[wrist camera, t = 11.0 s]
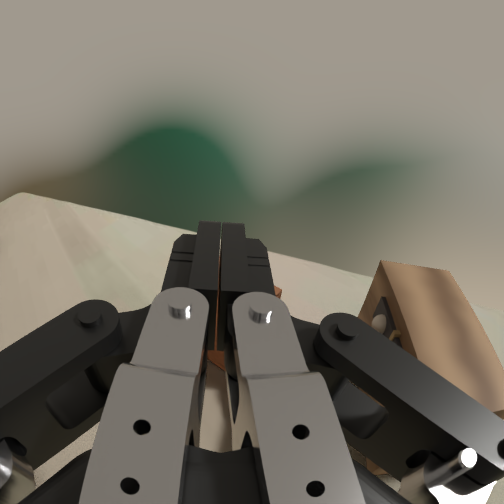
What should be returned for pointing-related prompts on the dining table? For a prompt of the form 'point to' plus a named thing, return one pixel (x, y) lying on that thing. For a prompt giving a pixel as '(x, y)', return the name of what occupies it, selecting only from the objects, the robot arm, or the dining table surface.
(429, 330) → the wooden box
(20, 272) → the dining table surface
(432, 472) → the robot arm
